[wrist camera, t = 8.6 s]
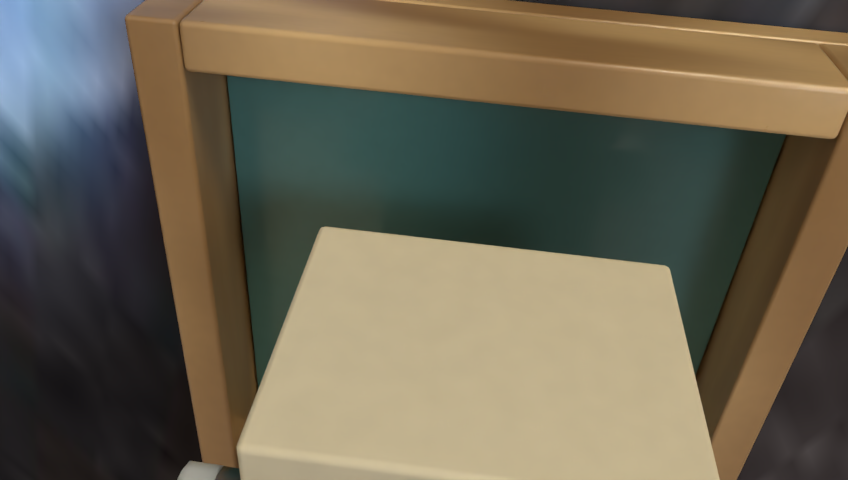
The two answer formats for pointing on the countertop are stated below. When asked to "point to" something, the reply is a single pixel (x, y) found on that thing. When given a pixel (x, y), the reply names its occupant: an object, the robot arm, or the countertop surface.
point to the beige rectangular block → (476, 368)
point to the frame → (494, 167)
